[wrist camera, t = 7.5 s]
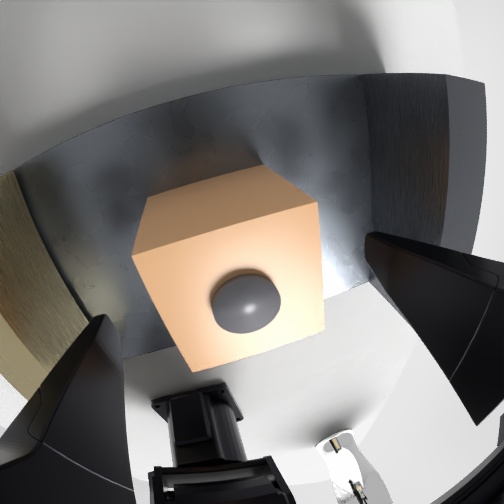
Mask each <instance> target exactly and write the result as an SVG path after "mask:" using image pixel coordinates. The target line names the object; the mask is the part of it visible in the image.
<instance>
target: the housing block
mask: <svg viewBox="0 0 504 504" xmlns="http://www.w3.org/2000/svg"><path fill="white" fill-rule="evenodd" d="M131 256H132V259H133V261H134V263H135V265H136V267H137V270H138V272H139V274H140V276H141V278H142V280H143V282H144V284H145V287H146V289H147V291H148V293H149V295H150V297H151V299H152V301H153V303H154V305H155V307H156V308H157V310H158V312H159V314H160V316H161V318H162V320H163V322H164V324H165V325H166V327H167V329H168V331H169V333H170V335H171V336H172V338H173V340H174V342H175V343H176V345H177V347H178V349H179V350H180V352H181V354H182V356H183V357H184V359H185V361H186V362H187V364H188V366H189V367H190V369H191V371H192V372H197V371H201V370H205V369H209V368H212V367H216V366H219V365H223V364H226V363H230V362H233V361H237V360H240V359H243V358H246V357H250V356H253V355H256V354H259V353H262V352H265V351H268V350H271V349H274V348H277V347H280V346H283V345H286V344H289V343H292V342H294V341H297V340H300V339H303V338H305V337H308V336H311V335H313V334H316V333H318V332H321V331H324V330H325V328H324V292H323V270H322V253H321V239H320V226H319V214H318V204H317V201H316V200H314V199H313V198H312V197H310V196H309V195H307V194H306V193H304V192H303V191H302V190H300V189H299V188H297V187H296V186H294V185H293V184H292V183H290V182H289V181H287V180H286V179H284V178H283V177H281V176H280V175H278V174H277V173H275V172H274V171H272V170H271V169H269V168H268V167H266V166H265V165H259V166H255V167H251V168H247V169H243V170H239V171H235V172H231V173H228V174H224V175H220V176H216V177H213V178H209V179H206V180H202V181H199V182H195V183H192V184H188V185H185V186H182V187H179V188H175V189H172V190H169V191H166V192H163V193H159V194H156V195H153V196H150V197H148V198H147V201H146V204H145V208H144V211H143V214H142V218H141V221H140V225H139V229H138V232H137V236H136V240H135V243H134V247H133V251H132V255H131Z"/></svg>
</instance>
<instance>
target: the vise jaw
mask: <svg viewBox="0 0 504 504" xmlns="http://www.w3.org/2000/svg"><path fill="white" fill-rule="evenodd" d="M88 324H89V322H88V320H87V319H86V317H85V316H84V314H83V313H82V311H81V309H80V308H79V306H78V305H77V303H76V302H75V300H74V298H73V297H72V295H71V293H70V292H69V290H68V288H67V287H66V285H65V283H64V281H63V280H62V278H61V276H60V274H59V273H58V271H57V269H56V267H55V265H54V263H53V261H52V259H51V258H50V256H49V254H48V252H47V250H46V248H45V246H44V244H43V242H42V239H41V237H40V235H39V233H38V231H37V229H36V226H35V224H34V222H33V220H32V217H31V215H30V213H29V210H28V208H27V205H26V203H25V200H24V197H23V195H22V192H21V189H20V187H19V184H18V181H17V178H16V175H15V172H14V170H12V171H10V172H8V173H6V174H5V175H3V176H1V177H0V373H1V374H2V375H3V376H4V378H5V379H6V380H7V381H8V382H9V383H10V384H11V385H12V386H13V387H14V388H15V389H16V390H17V391H18V392H19V393H21V394H22V395H23V396H24V397H25V398H26V399H27V400H28V401H29V400H30V398H31V397H32V396H33V394H34V393H35V391H36V390H37V389H38V387H40V385H41V383H42V382H43V381H44V379H45V378H46V376H47V375H48V374H49V372H50V371H51V370H52V369H53V367H54V366H55V365H56V363H57V362H58V361H59V359H60V358H61V357H62V356H63V354H64V353H65V352H66V351H67V349H68V348H69V347H70V346H71V344H72V343H73V342H74V341H75V339H76V338H77V337H78V336H79V334H80V333H81V332H82V331H83V330H84V328H85V327H86V326H87V325H88Z"/></svg>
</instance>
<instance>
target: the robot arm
mask: <svg viewBox="0 0 504 504" xmlns="http://www.w3.org/2000/svg"><path fill="white" fill-rule="evenodd" d="M364 257H365V260H366V262H367V263H368V265H369V267H370V268H371V270H372V271H373V273H374V274H375V276H376V277H377V279H378V281H379V282H380V284H381V285H382V287H383V288H384V290H385V291H386V293H387V294H388V296H389V297H390V298H391V300H392V301H393V302H394V303H395V305H396V306H397V307H398V309H399V310H400V311H401V313H402V314H403V315H404V317H405V318H406V319H407V321H408V322H409V323H410V325H411V326H412V328H413V329H414V330H415V332H416V333H417V334H418V336H419V337H420V339H421V340H422V342H423V343H424V344H425V346H426V347H427V349H428V350H429V351H430V353H431V354H432V356H433V357H434V359H435V360H436V362H437V363H438V365H439V366H440V368H441V369H442V371H443V372H444V374H445V375H446V377H447V379H448V380H450V381H449V382H450V383H451V385H452V386H453V388H454V390H455V392H456V393H457V395H458V396H459V398H460V400H461V401H462V403H463V405H464V406H465V408H466V410H467V411H468V413H469V415H470V416H471V418H472V420H473V422H474V423H475V425H476V426H478V425H479V424H480V423H481V422H482V421H483V420H484V419H485V418H486V417H487V416H488V415H489V414H490V413H492V411H493V410H494V409H495V408H496V407H497V406H498V405H499V404H500V403H501V402H502V401H503V400H504V263H503V262H499V261H494V260H490V259H486V258H482V257H478V256H474V255H470V254H467V253H461V252H459V251H456V250H452V249H448V248H444V247H440V246H437V245H433V244H429V243H425V242H421V241H417V240H412V239H408V238H404V237H400V236H396V235H391V234H387V233H383V232H378V231H373V232H370V233H367V234H366V235H365V238H364ZM151 407H152V408H153V409H154V410H155V411H156V412H157V413H158V414H159V415H160V416H161V417H162V418H163V419H164V420H165V421H166V422H167V423H168V428H169V437H170V446H171V453H172V461H173V467H161V466H154V471H153V472H149V473H148V479H149V487H150V504H296V502H295V499H294V497H293V495H292V493H291V491H290V489H289V488H288V486H287V484H286V482H285V481H284V479H283V477H282V475H281V473H280V472H279V470H278V468H277V466H276V464H275V462H274V461H273V459H272V457H271V456H265V457H263V458H260V459H254V460H247V457H246V454H245V450H244V447H243V443H242V440H241V436H240V433H239V429H238V426H237V422H238V421H241V420H243V415H242V413H241V411H240V409H239V407H238V405H237V403H236V401H235V400H234V398H233V396H232V394H231V392H230V390H229V388H228V386H227V385H225V384H219V385H216V386H212V387H208V388H204V389H200V390H196V391H192V392H188V393H183V394H179V395H174V396H170V397H165V398H160V399H155V400H152V401H151ZM497 446H498V447H497V448H496V449H495V450H494V451H493V452H492V453H491V454H490V455H489V456H488V457H487V458H486V459H485V460H484V461H483V462H482V463H481V464H480V465H479V466H478V467H476V468H475V469H474V470H473V471H472V472H471V473H470V474H468V475H467V476H466V477H465V478H464V479H463V480H461V481H460V482H459V483H458V484H456V485H455V486H454V487H453V488H451V489H450V490H449V491H448V492H446V493H445V494H444V495H442V496H441V497H439V498H438V499H437V500H435V501H434V502H432V503H431V504H504V413H503V414H502V416H501V417H500V428H499V437H498V444H497ZM168 488H174V491H169V490H168ZM133 490H134V489H133V483H132V477H131V470H130V462H129V454H128V444H127V434H126V420H125V402H124V374H123V365H122V355H121V344H120V335H119V332H118V330H117V329H116V327H115V326H114V324H113V322H112V321H111V319H110V318H109V316H108V315H107V314H100V315H97V316H95V317H94V318H93V319H92V320H91V321H90V322H89V324H88V325H87V326H86V327H85V328H84V330H83V331H82V332H81V333H80V334H79V336H78V337H77V338H76V339H75V341H74V342H73V343H72V344H71V346H70V347H69V348H68V349H67V351H66V352H65V353H64V354H63V356H62V357H61V358H60V359H59V361H58V362H57V363H56V365H55V366H54V367H53V369H52V370H51V371H50V372H49V374H48V375H47V376H46V378H45V379H44V381H43V382H42V383H41V385H40V387H38V389H37V390H36V391H35V393H34V394H33V396H32V397H31V398H30V400H29V401H28V402H27V404H26V405H25V406H24V408H23V409H22V410H21V412H20V413H19V414H18V416H17V417H16V418H15V419H14V421H13V422H12V423H11V424H10V426H9V427H8V428H7V430H6V431H5V432H4V434H3V435H2V436H1V438H0V504H136V499H135V495H134V491H133Z"/></svg>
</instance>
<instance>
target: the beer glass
mask: <svg viewBox="0 0 504 504" xmlns="http://www.w3.org/2000/svg"><path fill="white" fill-rule="evenodd" d="M316 448H317V450H318V451H319V453H320V454H321V455H322V457H323V458H324V460H325V462H326V463H327V466H328V468H329V472H330V476H331V480H332V485H333V489H334V492H335V496H336V498H337V501H338V503H339V504H392V503H393V502H392V500H391V498H390V495H389V493H388V490H387V488H386V486H385V484H384V482H383V480H382V479H381V477H380V475H379V474H378V473H377V471H376V470H375V469H374V468H373V466H372V465H371V464H370V463H369V462H368V460H367V459H366V458H365V457H364V456H363V454H362V453H361V452H360V450H359V448H358V446H357V444H356V441H355V437H354V434H353V431H352V430H350V429H347V430H343V431H340V432H337V433H335V434H333V435H331V436H329V437H327V438H325V439H324V440H322V441H321V442H319V443H318V444H317V446H316Z"/></svg>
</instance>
